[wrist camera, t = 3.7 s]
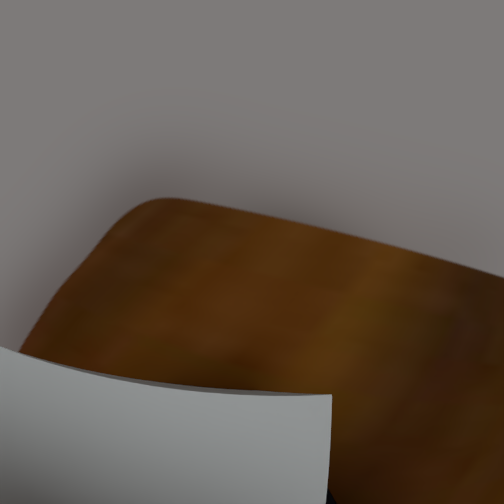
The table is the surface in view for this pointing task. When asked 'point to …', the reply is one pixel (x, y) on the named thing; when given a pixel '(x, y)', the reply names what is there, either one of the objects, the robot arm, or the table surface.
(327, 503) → the robot arm
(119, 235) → the table surface
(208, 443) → the white post
